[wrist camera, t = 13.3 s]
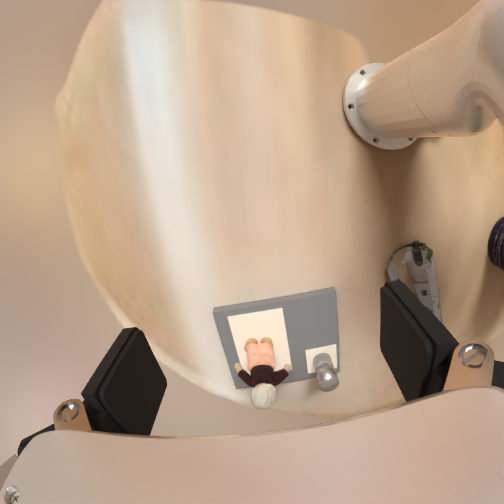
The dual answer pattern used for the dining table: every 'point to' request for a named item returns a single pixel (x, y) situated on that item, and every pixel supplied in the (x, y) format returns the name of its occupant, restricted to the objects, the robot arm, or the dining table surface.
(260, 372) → the grandmother figurine
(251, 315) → the board
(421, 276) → the model building
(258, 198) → the dining table surface
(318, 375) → the pin
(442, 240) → the dining table surface
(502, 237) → the storage jar
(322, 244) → the dining table surface
